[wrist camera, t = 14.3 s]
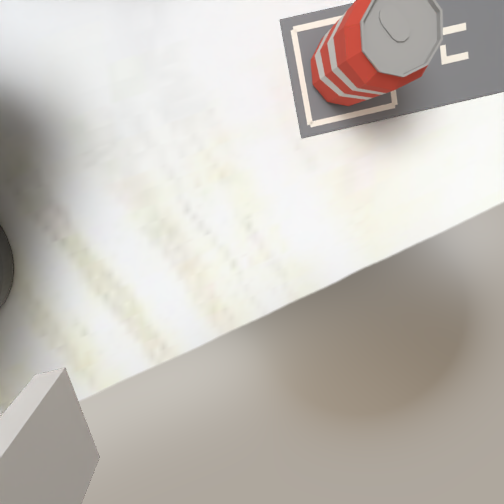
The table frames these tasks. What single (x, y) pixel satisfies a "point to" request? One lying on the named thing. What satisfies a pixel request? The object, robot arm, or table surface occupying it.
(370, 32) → the beverage can
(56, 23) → the table surface
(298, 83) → the charcoal board
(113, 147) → the table surface
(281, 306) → the table surface
